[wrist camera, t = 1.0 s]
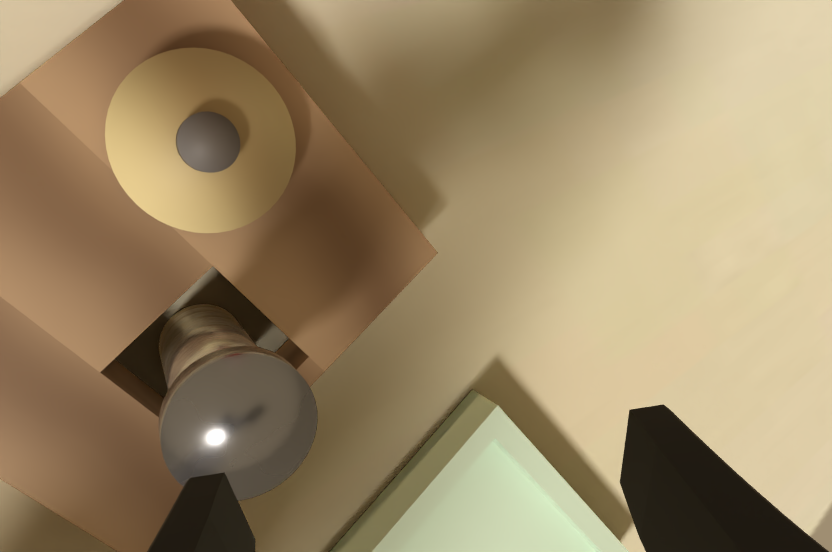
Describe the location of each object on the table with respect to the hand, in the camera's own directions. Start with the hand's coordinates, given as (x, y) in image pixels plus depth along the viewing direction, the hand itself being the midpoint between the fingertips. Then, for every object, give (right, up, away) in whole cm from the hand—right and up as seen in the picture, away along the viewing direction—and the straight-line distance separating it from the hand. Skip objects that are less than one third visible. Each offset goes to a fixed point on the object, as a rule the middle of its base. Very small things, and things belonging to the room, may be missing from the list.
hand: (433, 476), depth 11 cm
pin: (-8, +1, +10) cm, 13 cm away
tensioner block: (-9, +4, +9) cm, 13 cm away
